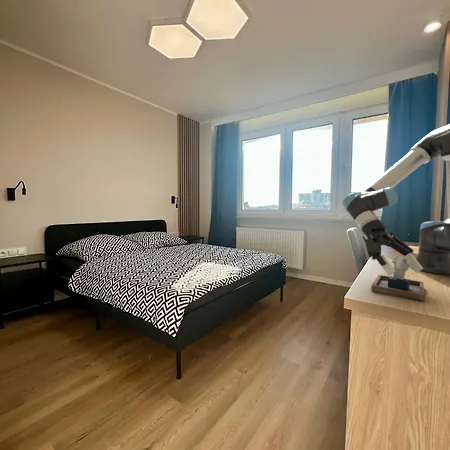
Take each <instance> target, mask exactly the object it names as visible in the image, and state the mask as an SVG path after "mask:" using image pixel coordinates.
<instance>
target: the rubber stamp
mask: <svg viewBox="0 0 450 450" xmlns="http://www.w3.org/2000/svg"><path fill="white" fill-rule="evenodd" d="M391 263H392V264H393V268H394V269H395V272H394V273H392V274H393V276H392V275H390V277H389V278H388V287H390V288H395V289H400V290H404V291H407V290H408V289H409V284H410V280H411V279H409V278H405V275H406V272H407V271H408V269H410V267H411V266H410V261H409V260H408V259H407V258H405V256H396V255H395V258H394V259H393V260H392V261H391Z"/></svg>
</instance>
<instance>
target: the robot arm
mask: <svg viewBox="0 0 450 450" xmlns="http://www.w3.org/2000/svg"><path fill="white" fill-rule="evenodd" d="M408 151H409V152H408V153H407V154H406V155H404V156H403V157H402V158H401V159H399V160H398V162H395V164H393V166H391V167H390V168H389V169H388V170H386V171H385V172H384V173H383V174H381V176H379V177H378V178H376V180H374V181H373V182H372V183H371V184H369V186H367V187H366V188H365V189H362V191H361V192H360V191H359V192H351V193H348V195H346V196H345V197H344V199H343V200H342V205H343V207H344V209H345V210H346V212H347V213H348V214H349V215H350V217H351V218H352V219H353V221H354V222H355V224H356V225H357V226H358V228H359V229H360V230H361V232H362V233H363V234H364V235H363V236H362V238H363V240H364V243H365V247H366V251H367V255H368V257H369V258H371V260H372V261H375V260H376V261H377V262H378V264H379V265H380V266H381V267H382V268H383V270H384V271H385V273H386V274H387V276H392V274H394V272H395V269H394V266H393V265H392V264H391V263H390V261H389V260H388V258H387V257H386V256H385V254H382V246H386V247H387V248H388V247H389V248H391V249H393V250H394V251H396V252H398V253H400V254H401V255H402V256H403V257H405V258H407V259H408V260H409V261H410V266H409V267H411V269H412V270H413V272H415V273H419V272H420V271H421V272H425V273H431V274H439V275H440V274H441V275H450V123H449V124H447V125H446V124H445V125H444V126H441V127H438V128H436V129H433V130H432V131H431V132H429V133H428V134H427V135H425V136H423V138H422V139H420V140H419V141H418V142H417V143H416V144H414V145H413V146H412V147H411V148H410V149H409V150H408ZM437 157H440V158H441V159H442V160H444V161H445V165H446V166H445V168H446V174H445V175H446V198H447V199H446V203H447V218H446V219H445V220H444V221H441V220H440V221H439V220H438V221H436V220H435V221H424V222H422V223H421V224H420V228H419V240H418V241H419V242H418V251H417V254H416V256H414V255H413V254H412V253H414V252H415V250H414V249H413V248H412V247H411V246H409V245H407V244H406V243H405V242H404V241H402V240H401V239H400V238H399V237H397V236H396V235H395V234H394V232H389V233H387V232H386V226H385V224H384V223H383V222H382V221H381V220H380V218H379V217H378V216H377V214H375V211H378V210H381V209H384V208H388V207H391V206H392V205H395V204H397V202H398V200H399V196H398V193H397V191H396V190H395V187H396V186H397V185H398V184H399V183H401V182H402V181H403V180H404V179H406V178H407V177H408V176H409V175H410V174H412V173H413V172H414V171H416V169H418V168H419V167H420V166H422V165H423V164H424V165H425V164H428V163H429V162H430V161H432V160H433V159H436V158H437Z"/></svg>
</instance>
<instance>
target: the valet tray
mask: <svg viewBox="0 0 450 450" xmlns="http://www.w3.org/2000/svg"><path fill="white" fill-rule="evenodd" d="M389 277H391V275H385V274H384V275H383V274H378V275H377V276H376V278H375V279H374V280H373V283H372V284H371V289H370V291H371V292H372V293H376V294H377V293H378V294H381V295H387V296H391V297H396V298H402V299H407V300H412V301H414V302H415V301H416V302H419V303H420V302H421V303H424V302H425V287H424V286H425V284H424V281H421V280H420V281H419V280H414V279H409V280H410V284H409V289H408V290H407V291H404V290H400V289H395V288H390V287H388V278H389Z"/></svg>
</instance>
